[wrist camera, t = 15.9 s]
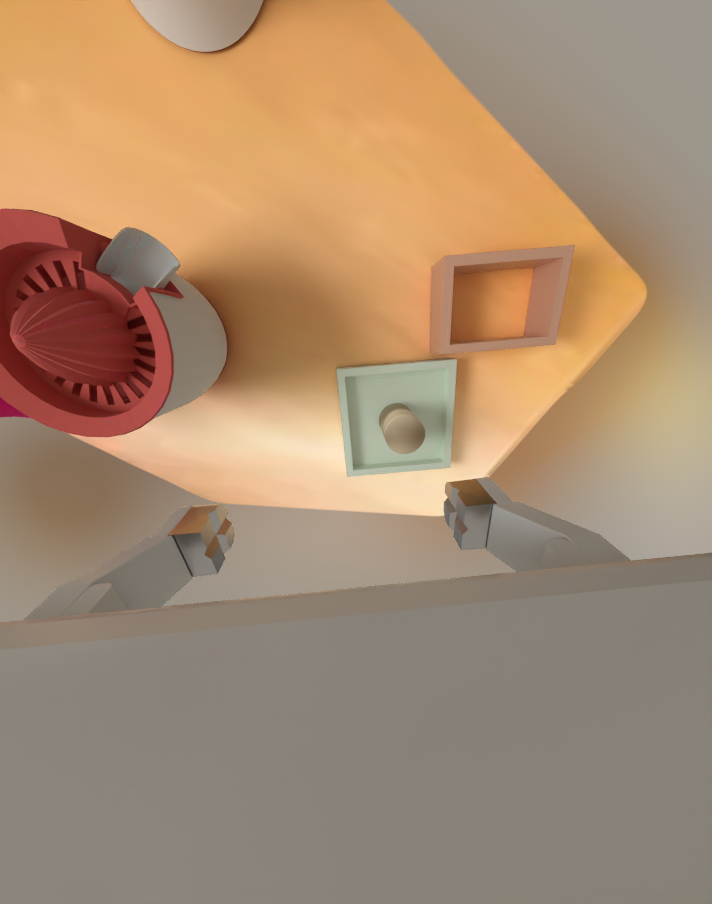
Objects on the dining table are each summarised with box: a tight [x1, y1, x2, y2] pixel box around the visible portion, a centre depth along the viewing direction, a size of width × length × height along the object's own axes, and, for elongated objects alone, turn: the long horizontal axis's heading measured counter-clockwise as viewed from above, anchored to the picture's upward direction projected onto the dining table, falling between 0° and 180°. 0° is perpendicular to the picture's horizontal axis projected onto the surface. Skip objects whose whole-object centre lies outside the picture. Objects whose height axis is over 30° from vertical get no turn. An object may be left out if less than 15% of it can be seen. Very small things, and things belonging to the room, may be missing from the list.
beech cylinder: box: [379, 403, 425, 454], centre depth 37 cm, size 5×5×7 cm
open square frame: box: [430, 245, 575, 354], centre depth 34 cm, size 10×14×5 cm
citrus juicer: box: [0, 209, 228, 437], centre depth 27 cm, size 16×17×20 cm
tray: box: [336, 358, 457, 477], centre depth 40 cm, size 16×16×2 cm
